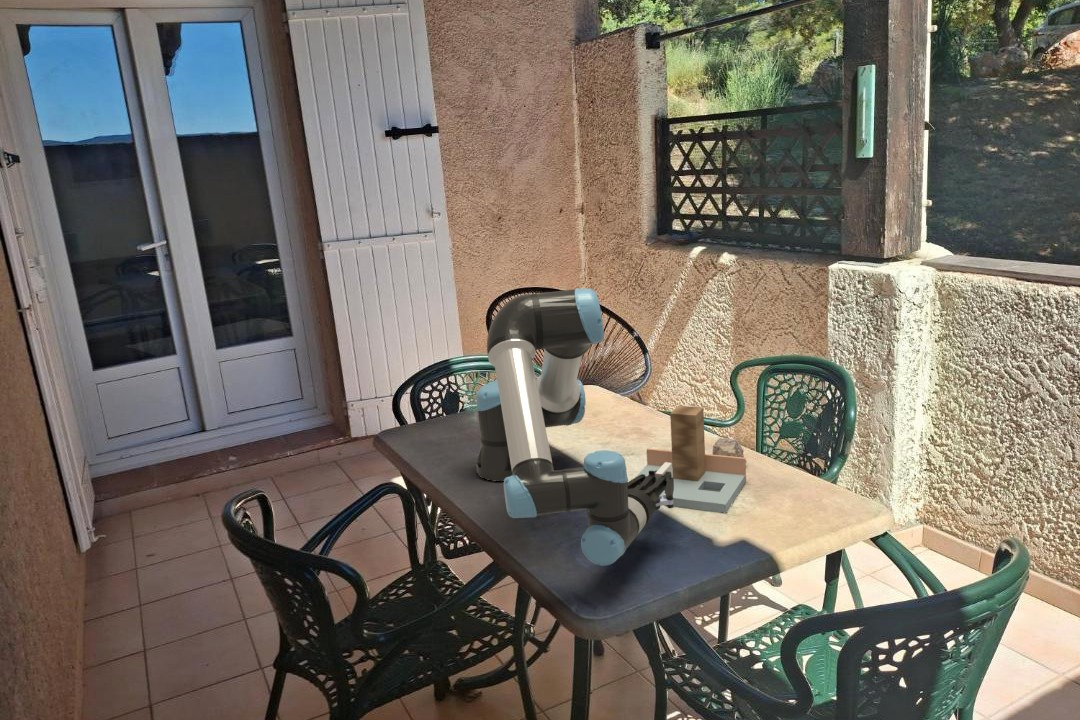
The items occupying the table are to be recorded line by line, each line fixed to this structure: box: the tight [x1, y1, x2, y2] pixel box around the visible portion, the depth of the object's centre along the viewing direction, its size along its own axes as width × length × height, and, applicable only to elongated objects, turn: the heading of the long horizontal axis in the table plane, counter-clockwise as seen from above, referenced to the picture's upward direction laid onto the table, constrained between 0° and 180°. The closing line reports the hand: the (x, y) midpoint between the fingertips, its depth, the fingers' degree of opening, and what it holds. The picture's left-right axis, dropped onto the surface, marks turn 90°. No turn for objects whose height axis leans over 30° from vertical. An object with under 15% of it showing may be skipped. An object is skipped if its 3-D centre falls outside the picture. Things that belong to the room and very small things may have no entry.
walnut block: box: [669, 405, 706, 481], centre depth 190 cm, size 6×6×16 cm
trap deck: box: [634, 447, 747, 514], centre depth 188 cm, size 24×18×6 cm
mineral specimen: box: [711, 437, 748, 463], centre depth 200 cm, size 13×7×6 cm, turn 7°
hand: (668, 468), depth 177 cm, fingers closed
